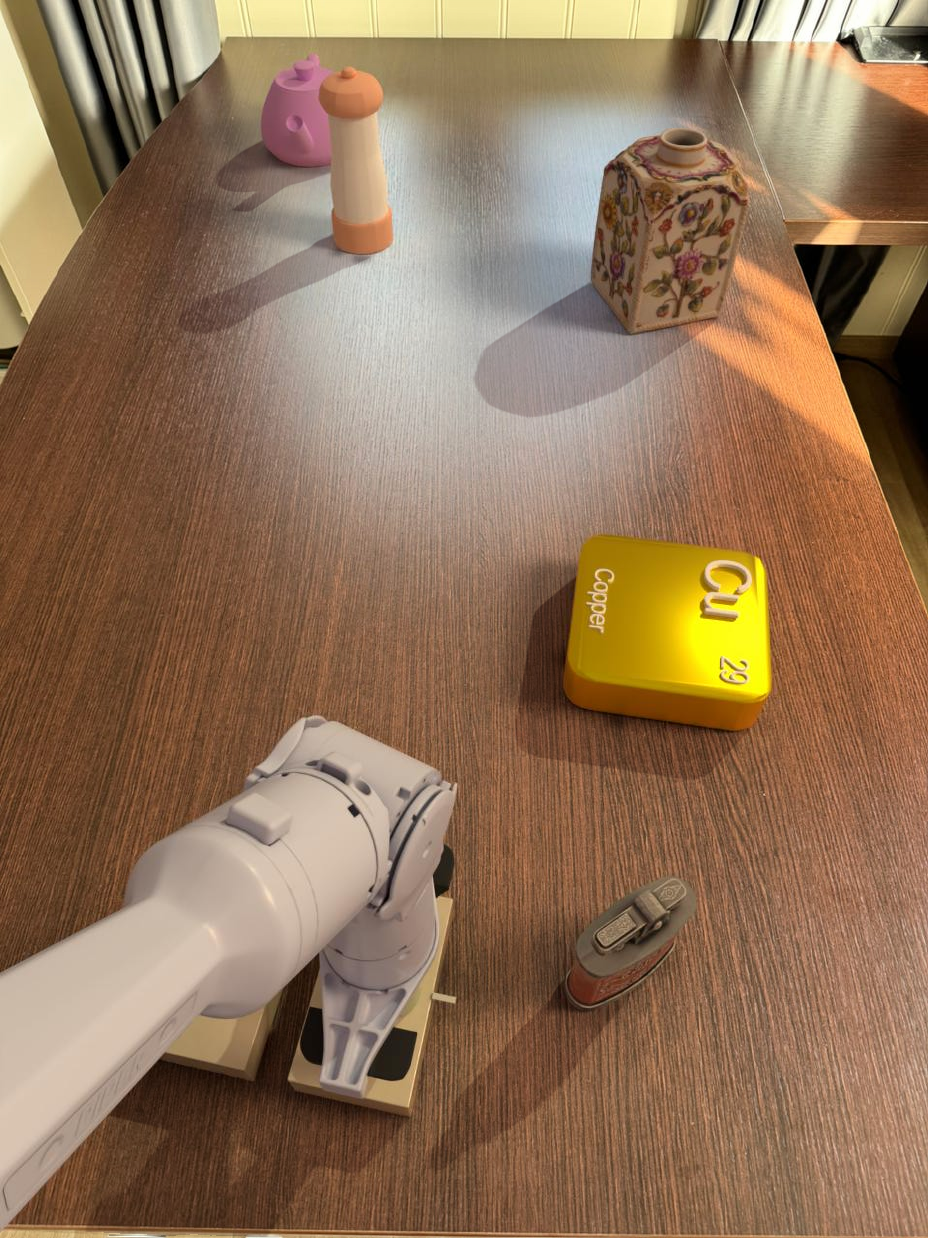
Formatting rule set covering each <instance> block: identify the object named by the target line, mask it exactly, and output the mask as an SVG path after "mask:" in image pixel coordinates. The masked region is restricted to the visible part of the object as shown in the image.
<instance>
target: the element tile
mask: <svg viewBox="0 0 928 1238" xmlns="http://www.w3.org/2000/svg"><path fill="white" fill-rule="evenodd" d="M768 581H769V580H768V571H767V568H766V566H765V564H764V562H763V561H762V560H761V559H760V558H759V557H758V556H756V555H754V554H752V553H749V552H747V551H743V550H737V549H729V548H721V547H715V546H714V547H713V546H705V545H698V544H689V543H681V542H675V541H668V540H660V539H659V540H658V539H653V538H652V539H651V538H643V537H635V536H629V535H619V534H611V533H600V534H599V533H598V534H593V535H591V536H590V537H588V538H587V539H585V541H584V542H583V544H582V545H581V548H580V551H579V557H578V564H577V569H576V576H575V583H574V584H575V586H574V590H573V591H574V592H573V600H572V607H571V616H570V623H569V631H568V637H567V638H568V639H567V648H566V656H565V664H564V670H563V677H562V678H563V679H562V685H563V691H564V693H565V696H566V698H567V699H568V700H569V701H570V702H571V703H572V704H573V705H575V706H577V707H579V708H581V709H584V710H588V711H593V712H602V713H608V714H614V715H615V714H616V715H622V716H629V717H635V718H642V719H648V720H656V721H661V722H662V721H663V722H670V723H677V724H682V725H691V726H697V727H703V728H710V729H715V730H716V729H717V730H723V731H730V732H738V731H742V730H746V729H749V728H750V727H751V726H753V725H755V723H756V721H757V719H758V718H759V715H760V714H761V711H762V709H763V708H764V705H765V704H766V701H767V700H768V698H769V696H770V694H771V691H772V688H773V673H772V672H773V671H772V651H771V631H770V630H771V629H770V606H769V585H768V583H769V582H768Z"/></svg>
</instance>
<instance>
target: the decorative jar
mask: <svg viewBox="0 0 928 1238" xmlns="http://www.w3.org/2000/svg"><path fill="white" fill-rule="evenodd" d="M741 163H742V162H741V161H740V160H739V159H738V158H737V157H736V156H735V155H734V154H733V153H732V152H731V151H730V149H728V148H727V147H725V146H724V145H723V144H721V143H720V142H717V141H714V140H709V139H708V137H707V136H706V135H705V134H704V133H703V132H701V131H699V130H696V129H693V128H687V127H672V128H668V129H665V130H663V131H662V132H661V133H660V135H659V134H658V135H651V136H643V137H640V138H638V139H636V140H635V141H634V142H633V143H631V145H629V146H627V148H626V149H624V150H622V151H620V152H619V153H618V154H617V155H616V156H615V157H614V159H611V160H610V161H608V163H607V164H606V165H605V166H604V168H603V175H602V180H601V187H600V194H599V201H598V202H599V203H598V208H597V215H596V222H595V228H594V229H595V230H594V237H593V247H592V257H591V265H590V277H589V278H590V282H591V284H592V285H593V287H595V289H596V290H597V292H598V293H599V294H600V296H601V297H602V299H603V300H604V301H605V303H606V304H607V305H608V307H609V308H610V310H611V311H612V312H613V314H614V315H615V316H616V317H617V319H618V320H619V321H620V323H621V325H622V326H623V327H624V328H625V330H626V331H627V332H628V333H629V334H630V335H634V334H640V333H643V332H650V331H655V330H660V329H666V328H671V327H677V326H680V325H686V324H689V323H694V322H699V321H704V320H709V319H714V318H718V317H719V316H720V315H721V314H722V311H723V309H724V305H725V302H726V298H727V296H728V292H729V288H730V285H731V281H732V277H733V272H734V269H735V264H736V260H737V256H738V253H739V250H740V249H739V248H740V246H741V241H742V237H743V233H744V229H745V226H746V221H747V217H748V212H749V208H750V203H751V196H750V194H749V189H748V184H747V183H748V182H747V181H746V179H745V175H744V172H743V167H742V164H741Z"/></svg>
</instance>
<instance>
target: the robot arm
mask: <svg viewBox="0 0 928 1238" xmlns="http://www.w3.org/2000/svg"><path fill="white" fill-rule="evenodd" d="M457 793H458V783H457V782H454V783H453V785H452V783H450V782H449V781H447V780H445V779H442V773H441V771H440V770H438V769H437V768H435V767H433V766H431V765H429V764H427V763H425V762H423V761H420V760H419V759H416V758H414V757H412V756H410V755H409V754H406V753H404V752H402V751H400V750H398V749H395V748H394V747H391V746H390V745H387V744H386V743H383V742H381V741H379V740H377V739H375V738H372V737H370V736H368V735H366V734H364V733H362V732H361V731H359V730H358V731H357V730H356V729H354V728H352V727H350V726H347V725H345V724H343V723H341V722H339V721H336V720H329V721H328V720H327V719H326V718H325V717H323V716H321V715H317V714H316V715H310V716H308V717H304V716H303V717H301V718H300V719H298V720H297V721H296V722H295V723H294V724H292V726H290V728H288V730H287V731H286V732H285V733H284V734H283V735H282V737H281V738H280V739H279V741H278V742H277V743H276V744H275V746H274V747H273V748H272V750H271V752H270V753H269V755H268V756H267V757H266V758H265V759H264V760H263V761H262V762H261V763H260V764H258V765H256V766H254V767H253V770H252V772H251V773H250V774H248V775H247V776H246V777H245V780H244V784H243V788H242V792H241V793H239V794H237V795H236V796H234V797H232V798H230V799H228V800H226V801H225V802H223V803H221V804H220V805H218V806H216V807H215V808H212V809H211V810H210V811H208V812H206V813H205V814H202V815H201V816H200V817H198V818H196V819H194V820H193V821H190V822H189V823H188V824H186V825H184V826H182V827H180V828H179V829H177V830H175V831H173V832H171V833H170V834H169V835H166V836H165V837H164V838H162V839H159V840H158V841H156V842H155V843H154V844H153V845H151V846H150V847H148V848H147V849H146V850H145V851H144V852H143V853H142V854H141V856H140V857H139V858H138V860H137V861H136V862H135V864H134V866H133V868H132V870H131V872H130V874H129V877H128V880H127V883H126V888H125V893H124V899H123V908H120V909H119V910H116V911H115V912H113V913H111V914H109V915H107V916H105V917H103V918H101V919H100V920H98V921H95V922H94V923H91V924H90V925H88V926H86V927H85V928H83V929H81V930H79V931H76V932H74V933H73V934H71V935H69V936H67V937H66V938H64V939H62V940H60V941H57V942H56V943H54V944H52V945H50V946H48V947H46V948H44V949H43V950H40V951H38V952H37V953H35V954H33V955H31V956H29V957H28V958H26V959H25V958H24V960H22V961H20V962H18V963H16V964H14V965H12V966H10V967H8V968H6V969H5V970H3V971H0V1233H2V1232H3V1230H5V1228H6V1227H7V1226H8V1225H9V1224H10V1223H11V1222H12V1220H14V1219H15V1218H16V1216H17V1215H18V1214H19V1213H20V1212H21V1211H22V1210H23V1208H25V1206H26V1205H27V1204H28V1203H29V1202H30V1201H31V1200H32V1198H33V1197H35V1195H36V1194H37V1193H38V1192H40V1190H41V1189H42V1188H43V1186H45V1184H47V1183H48V1181H49V1180H50V1179H51V1178H52V1177H53V1176H54V1174H56V1172H57V1171H58V1170H59V1169H60V1168H61V1167H62V1166H63V1165H64V1164H65V1162H67V1160H68V1159H69V1158H70V1157H71V1156H72V1155H73V1154H74V1152H76V1151H77V1149H78V1148H79V1147H80V1146H81V1145H82V1144H83V1143H84V1142H85V1141H86V1139H87V1138H89V1136H90V1135H91V1134H92V1133H93V1132H94V1131H95V1130H96V1129H97V1128H98V1126H99V1125H100V1124H101V1123H102V1122H103V1121H104V1120H105V1119H106V1118H107V1116H108V1115H109V1114H110V1113H111V1112H112V1111H113V1110H114V1109H115V1108H116V1106H117V1105H118V1104H120V1102H121V1101H123V1099H124V1098H125V1097H126V1096H127V1095H128V1093H129V1092H131V1090H132V1089H133V1088H134V1087H135V1086H136V1085H137V1084H138V1083H139V1081H140V1080H141V1079H142V1078H143V1077H144V1076H145V1075H146V1074H147V1073H148V1072H149V1071H150V1069H152V1067H153V1066H154V1065H155V1064H156V1063H157V1062H158V1060H159V1058H160V1057H161V1056H162V1055H163V1054H164V1053H165V1052H166V1051H167V1049H168V1048H169V1047H170V1046H171V1045H172V1044H173V1043H174V1042H175V1041H176V1040H177V1039H178V1037H179V1036H180V1035H181V1034H182V1033H183V1032H184V1031H185V1030H186V1029H187V1028H188V1027H189V1025H190V1024H191V1023H192V1022H193V1021H194V1020H195V1019H196V1018H197V1017H198V1016H199V1015H201V1016H206V1017H210V1018H217V1019H235V1018H239V1017H244V1016H247V1015H249V1014H252V1013H254V1012H256V1011H257V1010H259V1009H261V1008H262V1007H264V1006H265V1005H266V1004H267V1003H268V1002H269V1001H270V1000H271V999H272V998H273V997H274V996H275V995H276V994H277V993H278V992H279V991H280V990H281V989H282V988H283V989H284V988H285V987H286V986H287V985H288V984H289V983H290V982H291V981H292V980H293V979H294V978H295V977H296V976H297V975H298V974H299V973H300V972H301V971H302V970H303V969H304V968H305V967H306V966H307V965H308V964H309V963H310V962H311V961H312V960H313V959H314V958H315V957H316V956H317V955H318V954H319V955H318V956H319V970H320V976H321V995H322V1009H320V1008H315V1007H311V1006H309V1005H308V1007H309V1010H308V1009H307V1011H308V1013H307V1012H306V1014H307V1017H306V1016H305V1018H306V1020H305V1019H304V1021H305V1024H304V1023H303V1025H304V1027H303V1026H302V1028H303V1030H302V1029H301V1031H302V1034H301V1033H300V1035H301V1038H300V1037H299V1038H300V1049H301V1052H302V1054H303V1056H304V1058H305V1059H306V1060H307V1061H308V1062H310V1063H312V1064H316V1065H320V1066H322V1067H321V1071H320V1076H319V1080H318V1081H319V1083H320V1085H321V1087H322V1088H323V1090H324V1091H328V1092H333V1093H337V1094H341V1095H345V1096H350V1097H355V1098H359V1099H363V1098H364V1094H365V1090H366V1086H367V1082H368V1077H367V1076H369V1077H373V1078H378V1079H382V1080H386V1081H398V1080H402V1079H404V1077H405V1076H406V1074H407V1073H408V1071H409V1069H410V1066H411V1062H412V1058H413V1053H414V1048H415V1044H416V1039H417V1035H418V1034H417V1032H414V1031H410V1030H405V1029H401V1028H396V1027H394V1025H395V1023H396V1022H397V1020H398V1018H399V1017H400V1015H401V1014H402V1012H403V1010H404V1009H405V1007H406V1005H407V1004H408V1002H409V1001H410V999H411V997H412V996H413V994H414V993H415V991H416V989H417V988H418V986H419V984H420V983H421V981H422V980H423V978H424V976H425V975H426V973H427V971H428V970H429V968H430V967H431V965H432V963H433V961H434V959H435V956H436V953H437V950H438V946H439V936H440V933H439V920H438V913H437V905H436V898H438V897H439V896H441V895H443V894H445V893H446V892H448V891H449V890H450V887H451V881H452V877H453V873H454V868H455V862H456V861H455V859H456V858H455V854H454V851H453V849H451V847H449V845H447V844H445V843H444V840H445V835H446V834H447V833H446V832H447V829H448V826H449V823H450V821H451V816H452V813H453V810H454V808H455V807H454V806H455V803H456V798H457Z"/></svg>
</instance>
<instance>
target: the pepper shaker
mask: <svg viewBox="0 0 928 1238" xmlns="http://www.w3.org/2000/svg"><path fill="white" fill-rule="evenodd" d="M333 73H334V74H331V75H330V76H328V77H326V78H325V79H324V80H323V82H322V84H321V86H320V89H319V98H318V99H319V102H320V104H321V106H322V108H323V109H324V111H325V112H326V113H328V121H329V131H330V140H331V150H332V155H331V165H330V192H331V199H332V206H333V208H332V209H331V215H330V217H331V224H332V225H331V226H332V235H333V241H334V244H335V245H336V248H339V249H340V250H341V251H344V252H346V253H349V254H355V255H370V254H376V253H378V252H381V251H383V250H386V249H387V248H388V247H389V246H391V245H392V243H393V241H394V230H393V216H392V215H393V213H392V207H391V206H390V204H388V203H389V202H388V200H389V199H388V179H387V174H386V170H385V169H386V168H385V165H384V161H383V156H382V151H381V146H380V135H379V121H378V120H379V119H378V111H379V110H380V108H381V106H382V104H383V100H384V91H383V88H382V85H381V84H380V83H379V81H378V80H377V78H376V77H375V76H374V75H372V74H370V73H368V72H364V71H362V70H359V69H358V70H357V69H355V68H354V67H353V66H345V67H343V68H342V69H341V70H340V71H335V72H333Z"/></svg>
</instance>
